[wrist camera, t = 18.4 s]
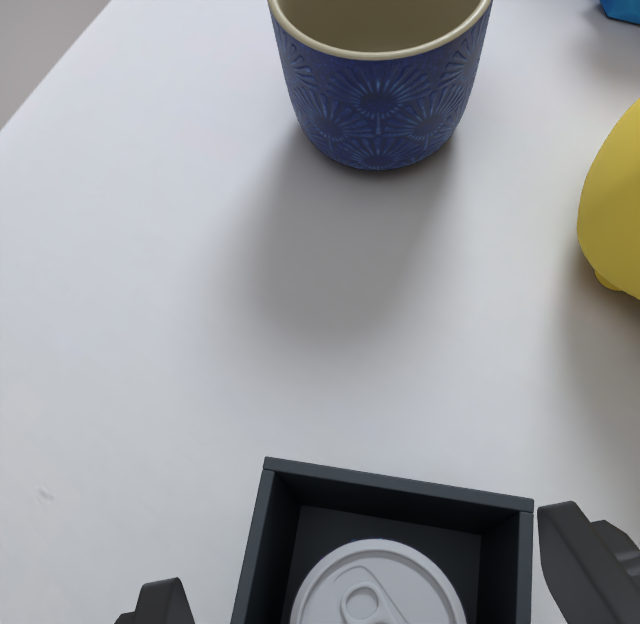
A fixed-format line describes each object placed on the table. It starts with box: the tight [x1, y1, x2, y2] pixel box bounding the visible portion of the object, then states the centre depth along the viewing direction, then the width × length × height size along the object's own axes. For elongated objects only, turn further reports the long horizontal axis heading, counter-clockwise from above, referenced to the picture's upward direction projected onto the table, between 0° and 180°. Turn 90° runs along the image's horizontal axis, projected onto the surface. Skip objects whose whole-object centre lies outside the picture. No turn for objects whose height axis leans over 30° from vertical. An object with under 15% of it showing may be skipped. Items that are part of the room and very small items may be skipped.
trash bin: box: [230, 457, 534, 624], centre depth 25 cm, size 10×10×10 cm
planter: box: [267, 0, 493, 170], centre depth 38 cm, size 12×12×11 cm
